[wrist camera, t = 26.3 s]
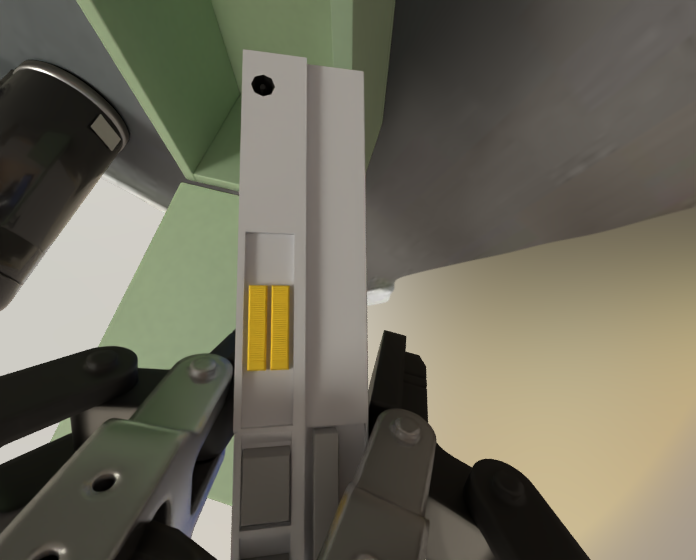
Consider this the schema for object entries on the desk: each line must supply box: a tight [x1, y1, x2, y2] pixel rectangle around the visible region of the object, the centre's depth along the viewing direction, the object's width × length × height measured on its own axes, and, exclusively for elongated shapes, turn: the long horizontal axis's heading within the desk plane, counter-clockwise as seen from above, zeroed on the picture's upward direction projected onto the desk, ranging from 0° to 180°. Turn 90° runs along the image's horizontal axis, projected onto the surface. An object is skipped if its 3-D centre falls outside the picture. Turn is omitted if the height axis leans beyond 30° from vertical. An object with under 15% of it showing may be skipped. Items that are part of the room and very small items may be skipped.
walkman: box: [231, 49, 369, 560], centre depth 11 cm, size 8×3×12 cm, turn 164°
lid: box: [50, 182, 239, 506], centre depth 23 cm, size 16×12×6 cm
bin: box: [76, 0, 396, 192], centre depth 18 cm, size 16×12×9 cm
